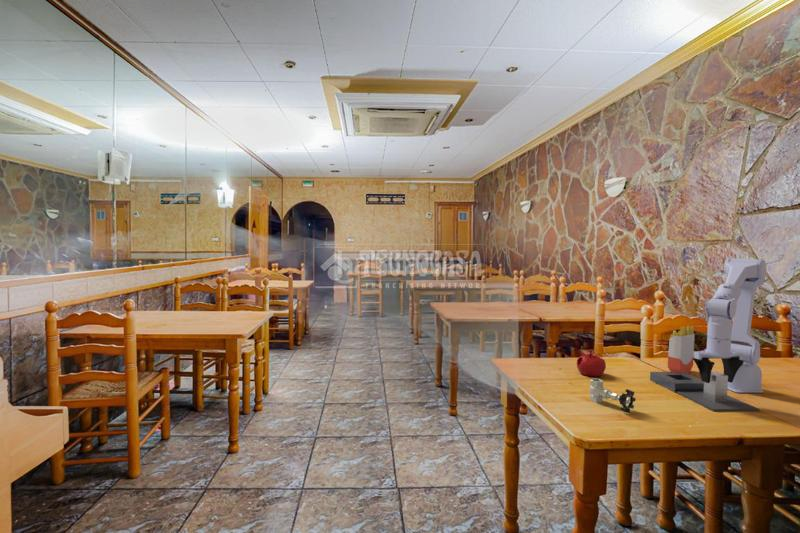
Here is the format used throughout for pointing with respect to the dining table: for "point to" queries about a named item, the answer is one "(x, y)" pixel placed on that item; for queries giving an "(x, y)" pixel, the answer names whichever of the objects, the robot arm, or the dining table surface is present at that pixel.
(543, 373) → the dining table surface
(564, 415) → the dining table surface
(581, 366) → the pomegranate
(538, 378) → the dining table surface
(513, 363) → the dining table surface
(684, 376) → the socket block
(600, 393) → the valve
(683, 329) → the french fries container
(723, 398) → the steel peg
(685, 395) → the rubber mat
